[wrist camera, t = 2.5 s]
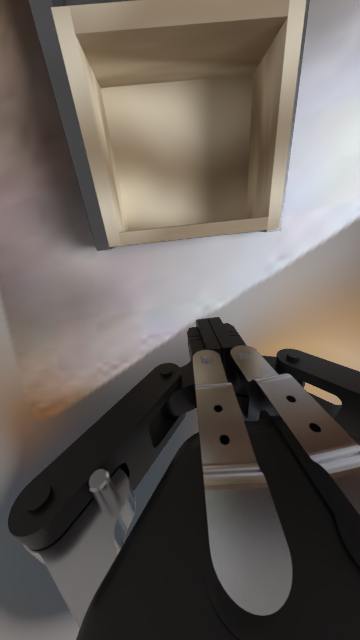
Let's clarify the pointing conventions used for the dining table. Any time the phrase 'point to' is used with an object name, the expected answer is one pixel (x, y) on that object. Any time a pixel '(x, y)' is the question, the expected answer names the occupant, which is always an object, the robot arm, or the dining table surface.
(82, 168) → the bay
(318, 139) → the dining table surface
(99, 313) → the dining table surface
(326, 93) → the dining table surface
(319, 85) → the dining table surface
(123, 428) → the robot arm
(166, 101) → the box
